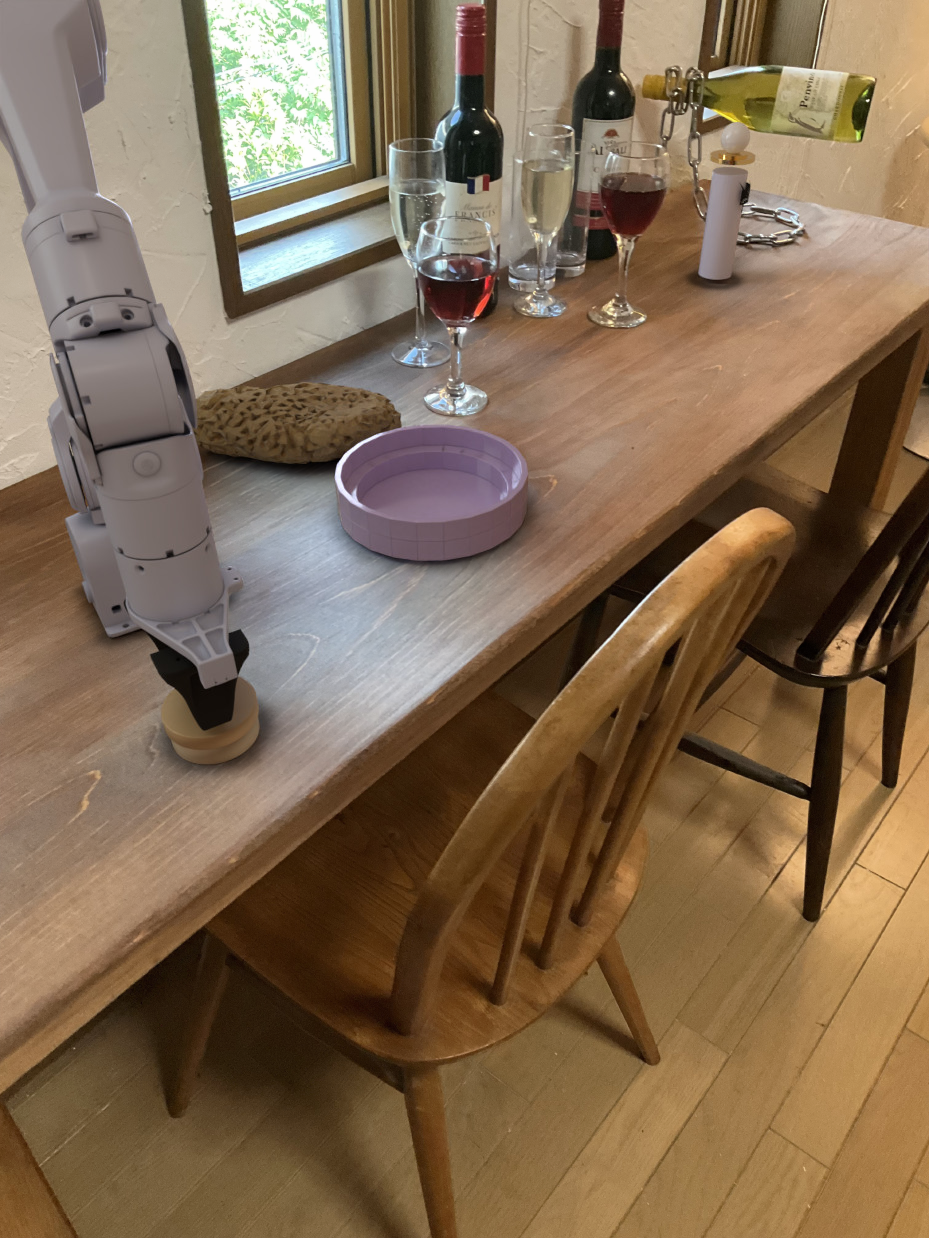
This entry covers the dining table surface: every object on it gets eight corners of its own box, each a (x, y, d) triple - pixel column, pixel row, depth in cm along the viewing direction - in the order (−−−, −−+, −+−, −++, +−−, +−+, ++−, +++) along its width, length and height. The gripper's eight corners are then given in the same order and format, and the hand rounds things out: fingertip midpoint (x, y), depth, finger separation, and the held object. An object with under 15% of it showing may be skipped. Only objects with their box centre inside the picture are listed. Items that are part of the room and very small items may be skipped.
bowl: (393, 589, 80) (389, 544, 77) (310, 496, 91) (304, 454, 88) (563, 528, 86) (565, 485, 83) (465, 449, 98) (465, 409, 95)
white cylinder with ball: (690, 284, 133) (712, 126, 121) (695, 270, 138) (717, 116, 125) (733, 288, 132) (759, 128, 119) (736, 274, 136) (762, 118, 124)
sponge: (188, 476, 97) (354, 478, 88) (168, 398, 94) (339, 393, 85) (266, 441, 107) (421, 440, 98) (251, 370, 104) (410, 362, 95)
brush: (187, 780, 64) (165, 706, 59) (156, 722, 68) (134, 649, 63) (277, 742, 66) (262, 669, 62) (242, 689, 70) (226, 617, 66)
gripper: (272, 573, 53) (301, 745, 61) (189, 461, 63) (224, 623, 71) (145, 615, 50) (194, 789, 59) (79, 491, 60) (129, 655, 68)
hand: (204, 700), depth 65 cm, fingers open, 4 cm apart
